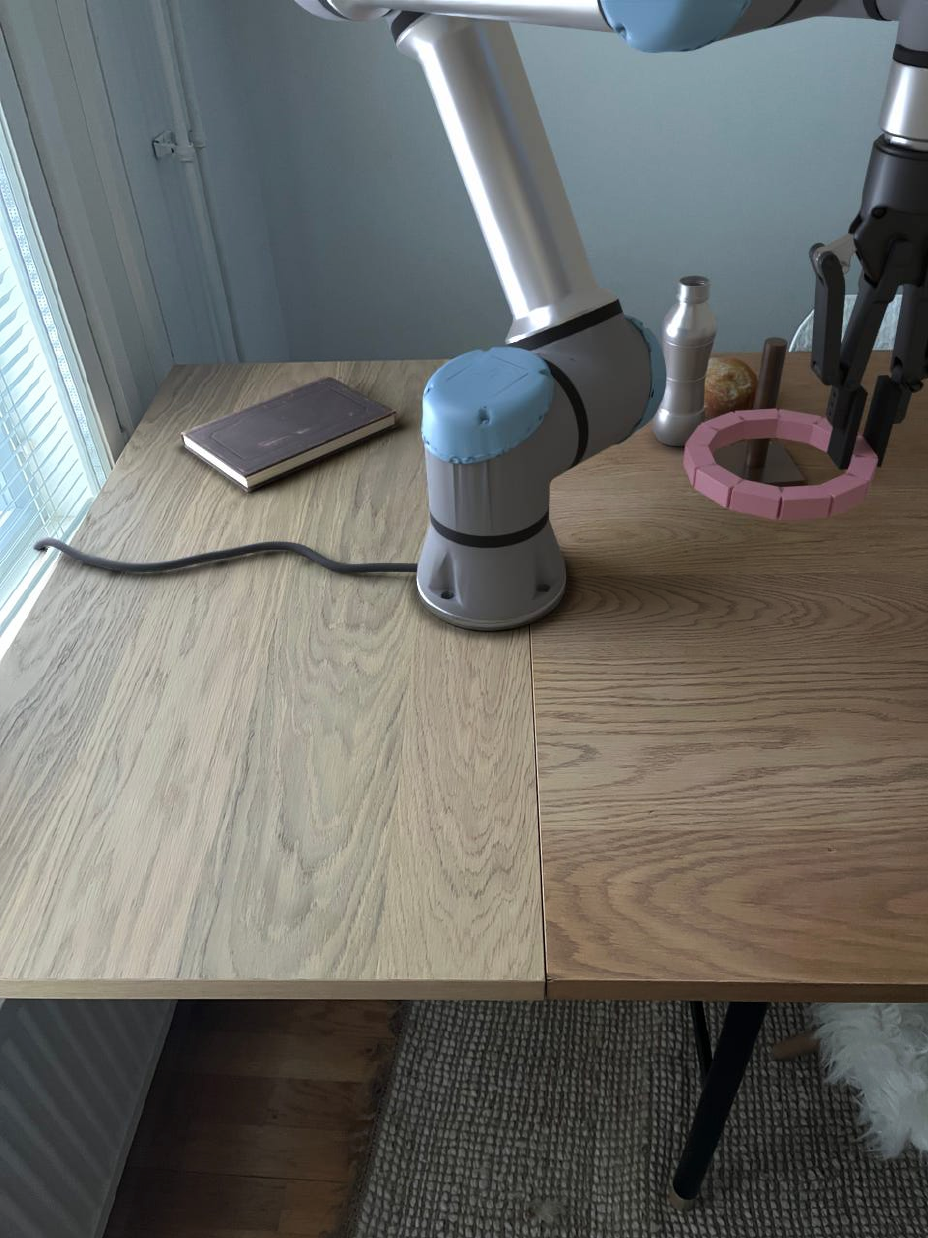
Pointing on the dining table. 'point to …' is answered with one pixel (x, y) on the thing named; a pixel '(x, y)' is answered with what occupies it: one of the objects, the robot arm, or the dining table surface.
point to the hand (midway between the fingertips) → (853, 459)
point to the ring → (767, 497)
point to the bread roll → (728, 387)
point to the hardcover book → (288, 432)
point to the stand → (758, 454)
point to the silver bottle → (685, 361)
